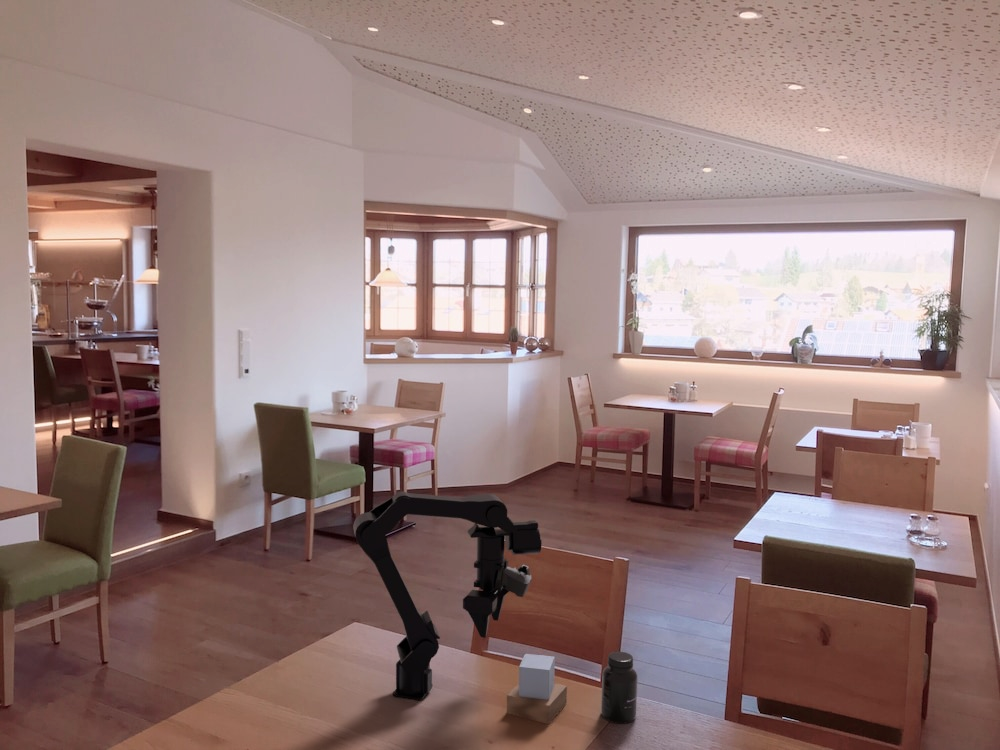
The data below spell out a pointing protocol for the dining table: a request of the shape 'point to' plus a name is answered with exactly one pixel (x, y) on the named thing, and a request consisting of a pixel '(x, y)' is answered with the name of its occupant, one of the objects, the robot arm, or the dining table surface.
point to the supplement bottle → (619, 688)
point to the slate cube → (536, 676)
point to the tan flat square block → (537, 704)
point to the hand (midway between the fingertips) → (489, 628)
